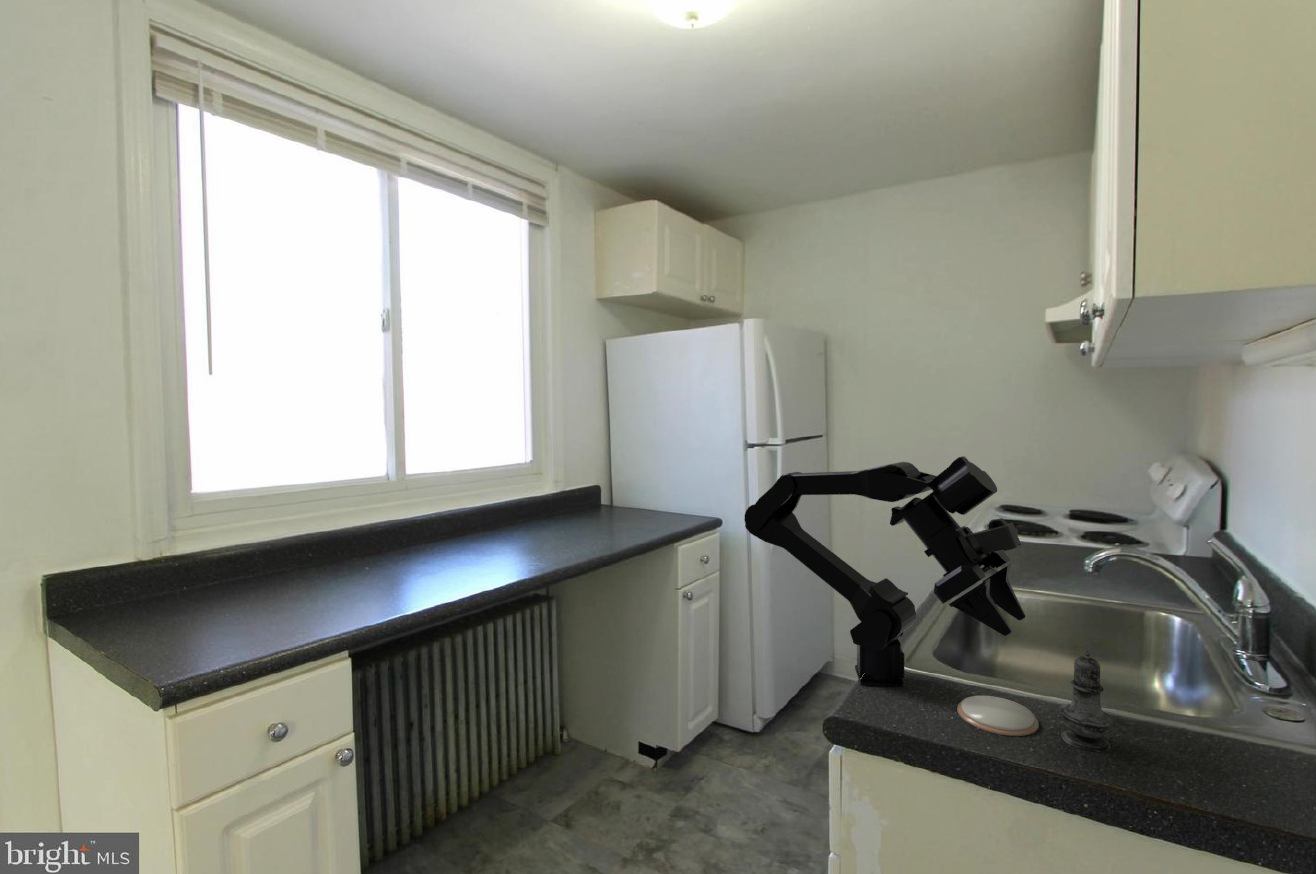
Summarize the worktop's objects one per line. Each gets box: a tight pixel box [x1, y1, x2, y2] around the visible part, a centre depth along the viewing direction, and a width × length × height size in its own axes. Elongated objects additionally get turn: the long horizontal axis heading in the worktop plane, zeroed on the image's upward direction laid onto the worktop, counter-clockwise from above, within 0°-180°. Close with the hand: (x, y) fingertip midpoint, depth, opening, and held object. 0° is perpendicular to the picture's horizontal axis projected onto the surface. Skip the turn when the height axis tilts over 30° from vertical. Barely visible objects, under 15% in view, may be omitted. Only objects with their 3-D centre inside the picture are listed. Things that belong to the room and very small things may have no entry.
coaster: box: [956, 695, 1040, 737], centre depth 88 cm, size 10×10×1 cm
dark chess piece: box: [1058, 650, 1115, 753], centre depth 81 cm, size 6×6×12 cm
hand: (1015, 626), depth 87 cm, fingers open, 9 cm apart
